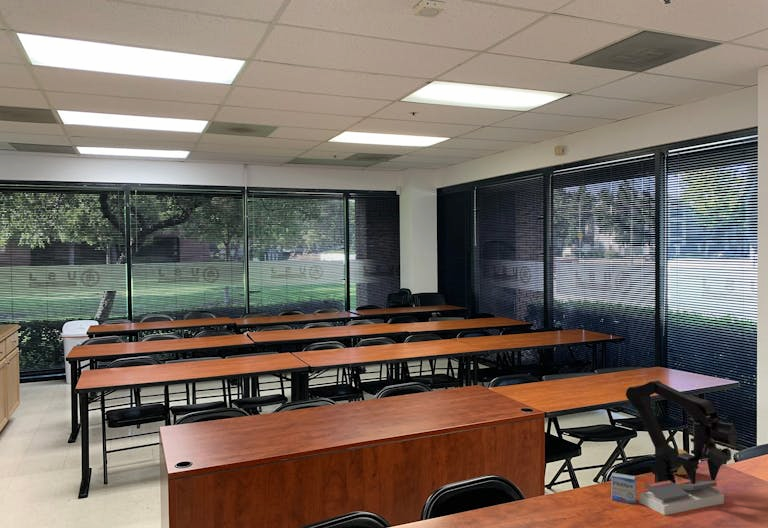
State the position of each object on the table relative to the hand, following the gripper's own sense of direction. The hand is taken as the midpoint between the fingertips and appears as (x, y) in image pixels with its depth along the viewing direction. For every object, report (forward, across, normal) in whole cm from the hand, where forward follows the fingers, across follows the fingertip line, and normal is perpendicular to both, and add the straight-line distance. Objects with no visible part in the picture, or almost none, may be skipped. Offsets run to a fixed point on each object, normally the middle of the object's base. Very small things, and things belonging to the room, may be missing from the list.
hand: (703, 482), depth 194 cm
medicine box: (+8, -24, +12) cm, 28 cm away
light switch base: (+8, -7, +3) cm, 11 cm away
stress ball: (+8, +15, +24) cm, 30 cm away
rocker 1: (+3, -14, +3) cm, 14 cm away
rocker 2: (+3, 0, +3) cm, 4 cm away
